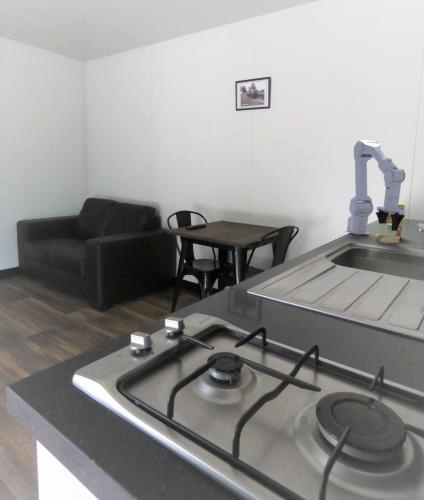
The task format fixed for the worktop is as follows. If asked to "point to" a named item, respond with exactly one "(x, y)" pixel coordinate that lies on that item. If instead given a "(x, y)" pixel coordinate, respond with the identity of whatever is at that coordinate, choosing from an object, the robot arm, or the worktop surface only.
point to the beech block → (387, 239)
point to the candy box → (399, 230)
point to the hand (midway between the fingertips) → (388, 229)
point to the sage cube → (386, 230)
